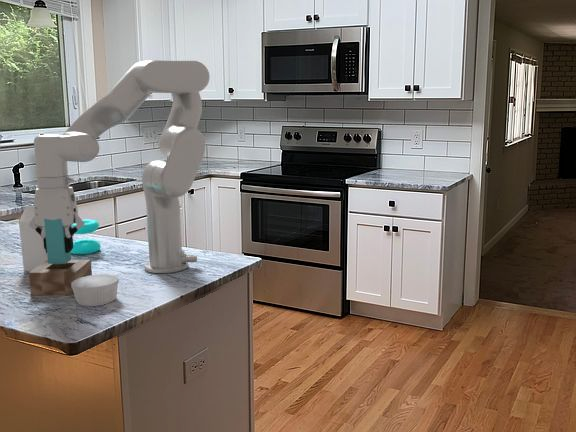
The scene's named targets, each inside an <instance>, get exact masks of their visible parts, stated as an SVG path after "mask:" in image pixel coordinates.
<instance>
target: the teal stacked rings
mask: <svg viewBox="0 0 576 432" xmlns="http://www.w3.org/2000/svg"><path fill="white" fill-rule="evenodd" d="M82 221H83V222H84V223H85V225H84V226H83V227H81V228H80V229H79V230H78V231H77V232H76V233H75V234H74V235H87V234H88V235H89V234H92V233H94V232H96V231H97V230H98V229H99V228H100V227H99V226H100V225H99V222H98V221H97V220H95V219H88V218H86V219H82ZM76 225H77V223H73V225H72V228H73V227H75V226H76ZM100 249H101V244H100V242H99V241H98V240H96V239H94V238H93V239H92V238H91V239H90V238H83V239H77V240H75V241H74V240H73V249H72V251H71V254H73V255H89V254H94V253H97V252H98V251H100Z"/></svg>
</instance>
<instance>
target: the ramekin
mask: <svg viewBox="0 0 576 432" xmlns="http://www.w3.org/2000/svg"><path fill="white" fill-rule="evenodd" d="M119 282H120V281H119V278H118V276H117V275H114V274H105V273H103V274H92V275H90V276H85V277H82V278H79V279H76V280H74V281H73V282H72V283H71V287H72V289H73V292H74V295H73V296H74V298H75V302H76V303H77V304H78V305H80V306H83V307H99V305H100V306H104V304H105V305H108V304H110V302H111V303H112V302H114V301H115V300H116V298H117V296H118V288H119V287H118V285H119Z"/></svg>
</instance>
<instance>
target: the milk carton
mask: <svg viewBox="0 0 576 432" xmlns="http://www.w3.org/2000/svg"><path fill="white" fill-rule="evenodd" d="M33 217H34V205H27V204H26V205H24V210H23V212H22V214H21V216H20V218H19V220H18V226H19V236H20V237H19V238H20V244H21V245H20V247H21V254H22V255H21V256H22V265H23V272H28V273H29V272H30V271H32V270H33V269H35V268H36V267H38V266H39V265H41V264H42V263H44V262H45V261H47V260H48V257H47V253H46V249H44V242H43V238H42V237H41V235H40V234H39V233H37V232H36V230H34V229H32V228H31V227H29V223H30V222H31V220H32V219H33Z"/></svg>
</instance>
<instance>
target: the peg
mask: <svg viewBox="0 0 576 432" xmlns="http://www.w3.org/2000/svg"><path fill="white" fill-rule="evenodd" d="M44 224H45V235H46V246H47V257H48V264H66V263H67V262H68V261H70V260H72V253H71V251H70V252H69V253H66V252H65V240H64V239H65V238H66V235H65V232H64V227H63V226H62V219H56V220H49V219H44Z"/></svg>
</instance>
